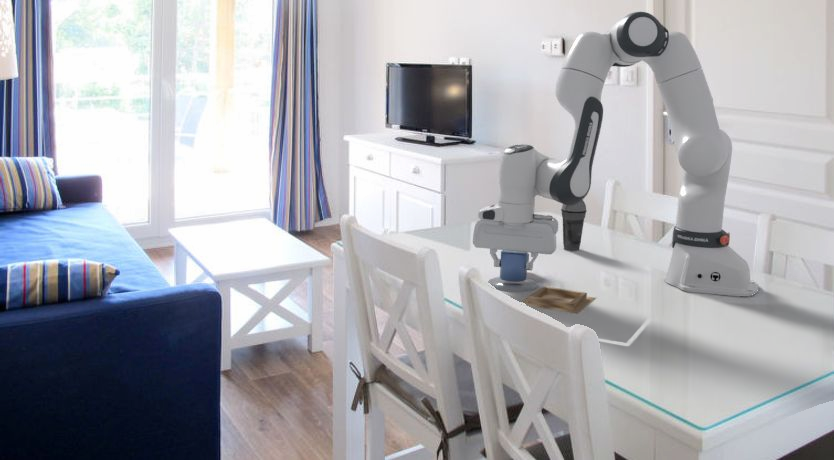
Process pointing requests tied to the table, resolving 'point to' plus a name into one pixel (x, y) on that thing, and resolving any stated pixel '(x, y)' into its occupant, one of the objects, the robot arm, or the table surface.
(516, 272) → the blue cylinder with nub
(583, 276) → the table surface
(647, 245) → the table surface
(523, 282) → the coaster
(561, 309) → the tray
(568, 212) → the beverage cup
